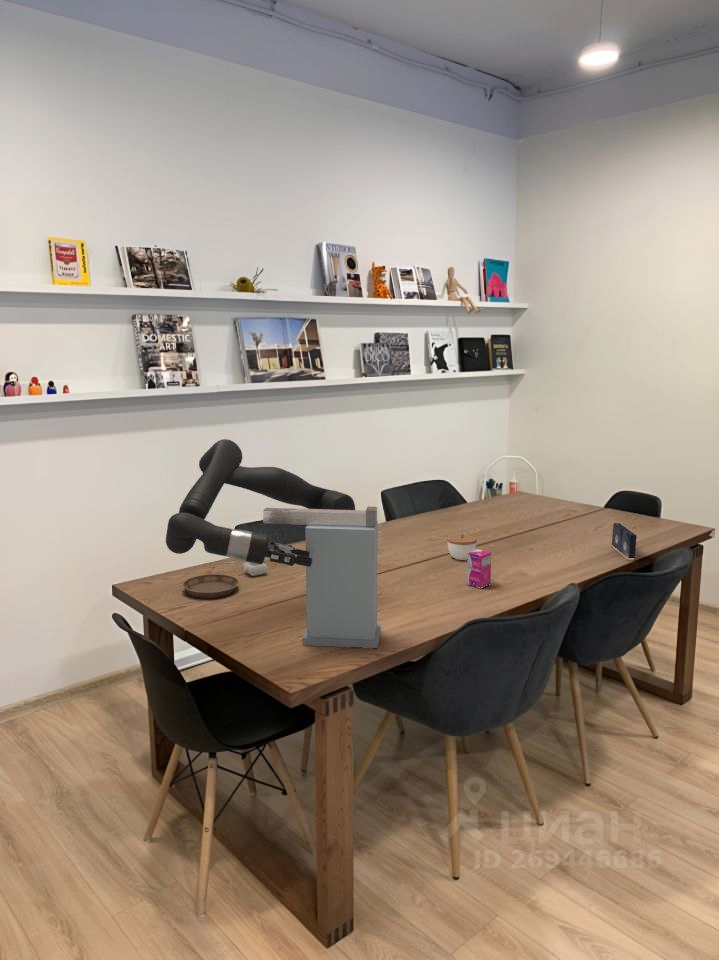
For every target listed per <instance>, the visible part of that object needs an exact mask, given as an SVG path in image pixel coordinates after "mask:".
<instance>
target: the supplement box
mask: <svg viewBox="0 0 719 960" xmlns="http://www.w3.org/2000/svg"><path fill="white" fill-rule="evenodd" d="M466 564H467V566H466V567H467V569H466V573H467V574H466V585H467V584H469V585H472V586H471V587H473V586H477V587H480V588H481V587H484V586H486V585H489V584H490V585H491V574H492V552H490V551H486V550H482V549H480V548H479V549H478V548H476V549H475V550H474V551H471V552H468V560H467V563H466ZM469 585H468V586H469ZM484 588H485V587H484Z"/></svg>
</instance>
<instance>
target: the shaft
mask: <svg viewBox="0 0 719 960" xmlns="http://www.w3.org/2000/svg"><path fill="white" fill-rule="evenodd" d="M377 521H378V507H377V506H367V507H366V510H362V509H361V510H360V509H359V510H357V509H355V510H328V509H308V508H289V507H288V508H287V507H286V508H285V507H282V508H281V507H277V508H276V507H265V508H264V509H263V510H262V524H264V525H267V524H268V525H293V526H294V525H295V526H296V525H299V526H301V525H302V526H307V525H327V526H361V527H376V524H377Z"/></svg>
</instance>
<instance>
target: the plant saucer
mask: <svg viewBox="0 0 719 960" xmlns="http://www.w3.org/2000/svg"><path fill="white" fill-rule="evenodd" d="M239 583H240V582H239V580H238V579H237V578H236V577H234V576H231V575H226V574H216V573H215V574H214V573H212V574H201V575H197V576H193V577H191V578H188V579H185V581H184V582H183V584H182V586H183V589H184V590H185V591H186V592H187V593H188V594H189V595H190V596H192V597H195V596H196V597H195V598H199V597H201V599H215V597H217V598H221V596H222V597H225V595H226V596H228V595H230V594H231V593H232V592H234V591H235V590H236V588H237V587H238V586H239Z"/></svg>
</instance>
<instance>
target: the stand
mask: <svg viewBox="0 0 719 960" xmlns="http://www.w3.org/2000/svg"><path fill="white" fill-rule="evenodd" d="M378 526H379V521H378V520H377V524H376V527H361V526H327V525H306V527H305V528H304V529H305V551H309V553H310V554H309V557H310V558H312V564H311V566H310V567H308V566H305V583H306V584H305V595H306V596H305V600H306V604H305V605H306V608H305V610H306V614H305V615H306V630H305V632H304V634H303V636H302V638H301V639H302V640H301V641H302V646H310V647H311V646H312V647H313V646H315V647H331V646H334V647H333V648H337V647H338V648H351V647H362V648H361V649H372V648H377V649H378V648H379V647H378V646H379V641H380V638H379V637H381V632H382V624H380V623H379V624H378V563H379V562H378V559H379V557H378V545H379V541H378V539H379V538H378V537H379V536H378V535H379V527H378Z"/></svg>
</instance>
